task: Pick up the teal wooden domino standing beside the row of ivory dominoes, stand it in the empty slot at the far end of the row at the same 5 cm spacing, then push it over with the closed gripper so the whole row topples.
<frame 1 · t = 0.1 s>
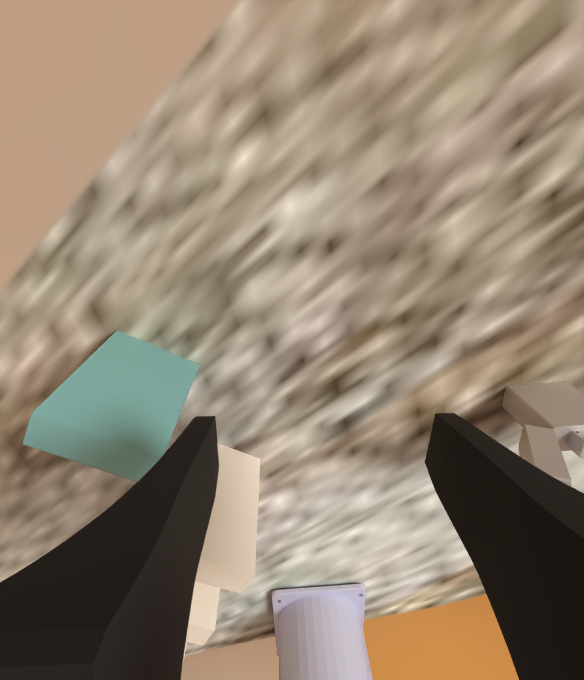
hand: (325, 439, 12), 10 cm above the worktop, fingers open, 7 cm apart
lighter: (510, 394, 24), on the worktop
domino 2: (222, 455, 25), on the worktop
domino 3: (194, 503, 26), on the worktop
end tile: (155, 358, 21), on the worktop
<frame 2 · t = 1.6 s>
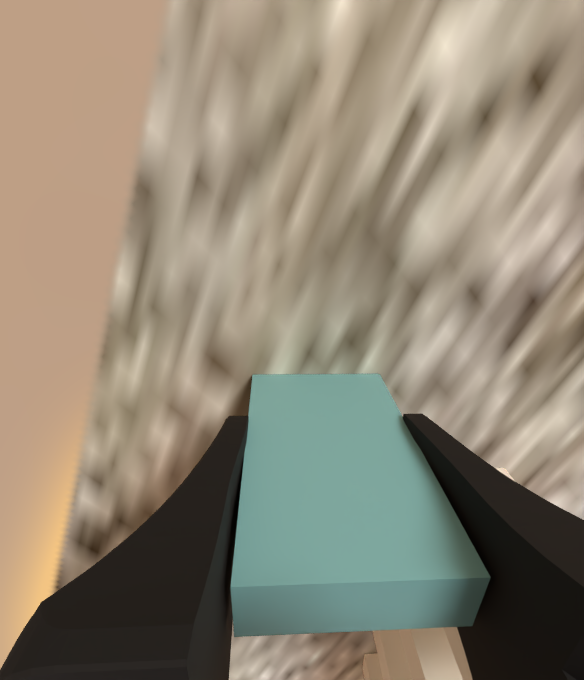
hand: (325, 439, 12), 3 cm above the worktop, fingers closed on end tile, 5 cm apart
domino 5: (402, 658, 23), on the worktop
domino 4: (414, 610, 21), on the worktop
domino 2: (448, 482, 17), on the worktop
domino 3: (429, 553, 19), on the worktop
end tile: (315, 391, 14), on the worktop, touching gripper
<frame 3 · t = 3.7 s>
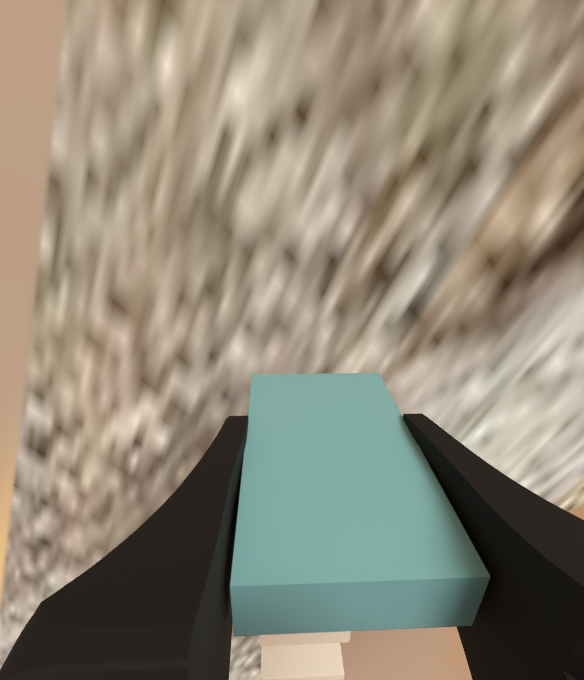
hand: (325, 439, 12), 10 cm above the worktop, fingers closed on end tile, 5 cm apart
domino 5: (295, 557, 29), on the worktop
domino 4: (296, 512, 27), on the worktop
end tile: (315, 391, 14), point 7 cm above the worktop, touching gripper
when the fingers open (3 cm above the worktop, at t = 5.8 s): end tile stays where it is, on the worktop.
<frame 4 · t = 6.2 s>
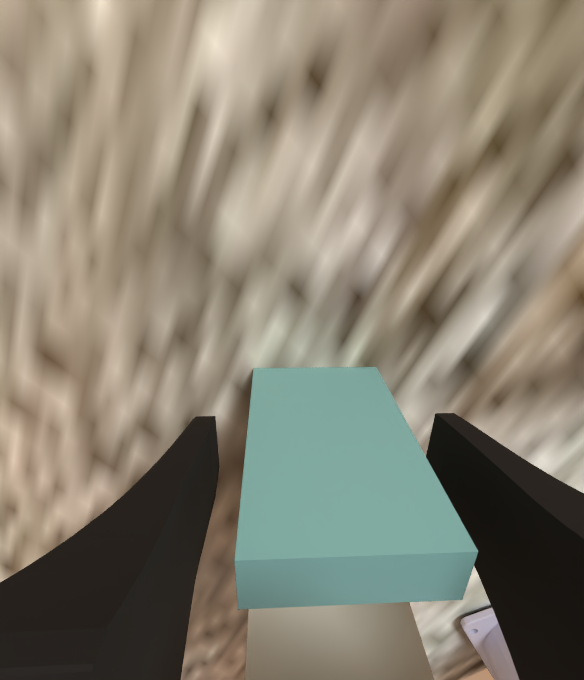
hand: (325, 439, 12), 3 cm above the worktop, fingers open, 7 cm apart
domino 2: (310, 477, 17), on the worktop
end tile: (314, 384, 15), on the worktop
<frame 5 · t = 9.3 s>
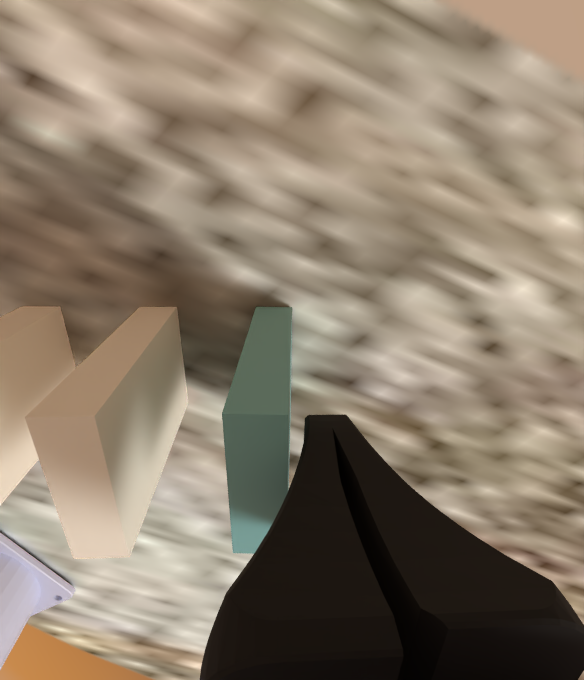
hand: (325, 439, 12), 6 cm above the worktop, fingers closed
domino 2: (165, 357, 17), on the worktop
domino 3: (55, 358, 17), on the worktop
end tile: (274, 357, 17), on the worktop, touching gripper
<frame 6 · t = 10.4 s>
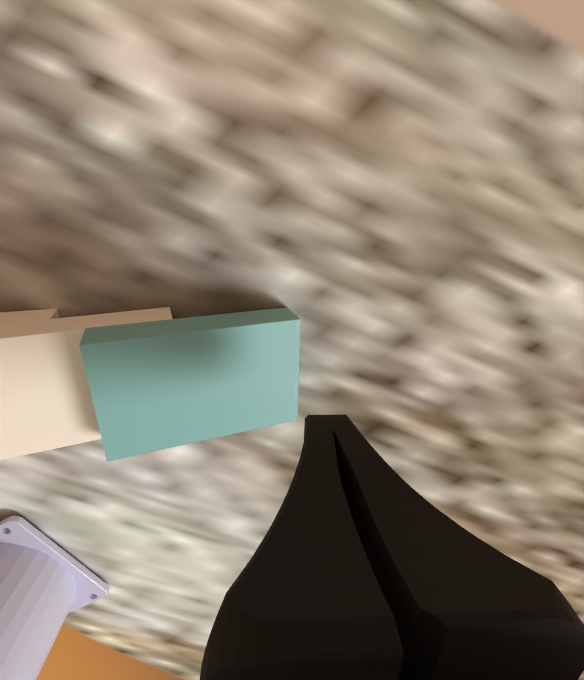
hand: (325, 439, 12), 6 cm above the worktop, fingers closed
domino 2: (178, 365, 16), point 1 cm above the worktop, tilted 72°, touching domino 3, end tile
domino 3: (66, 367, 16), point 1 cm above the worktop, tilted 73°, touching domino 2, domino 4
end tile: (292, 364, 16), point 1 cm above the worktop, tilted 72°, touching domino 2
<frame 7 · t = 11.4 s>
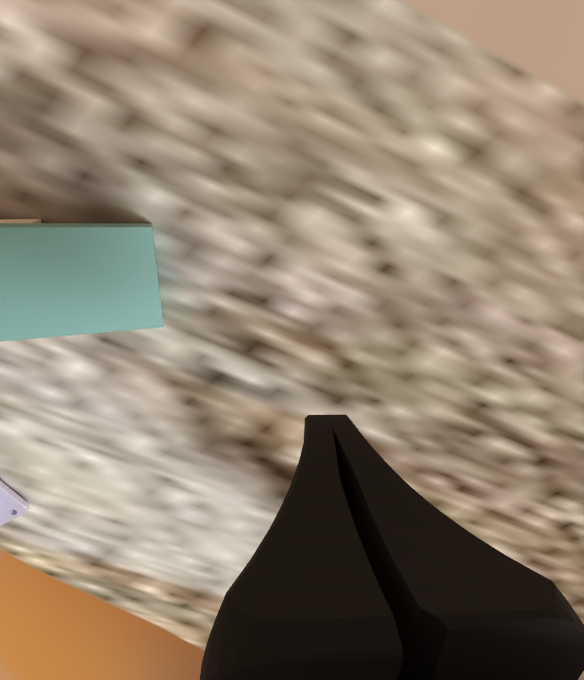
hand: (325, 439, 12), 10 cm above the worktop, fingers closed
end tile: (157, 276, 18), point 1 cm above the worktop, tilted 73°, touching domino 2
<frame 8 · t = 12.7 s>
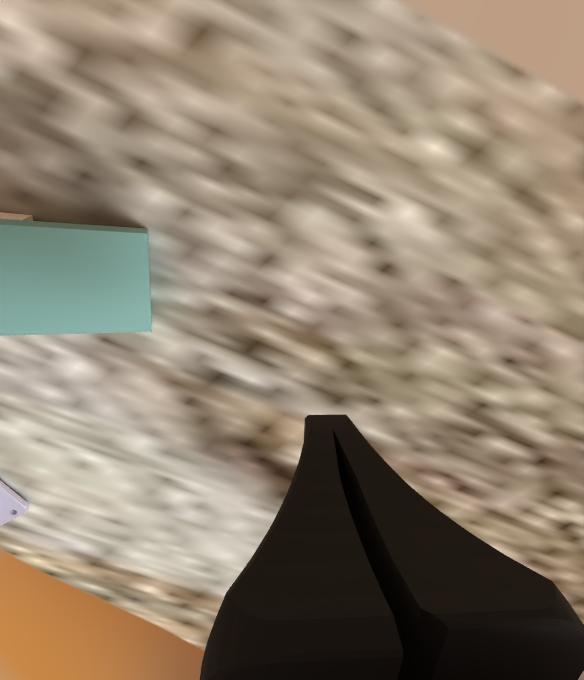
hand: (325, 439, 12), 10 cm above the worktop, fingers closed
end tile: (149, 280, 19), point 1 cm above the worktop, tilted 74°, touching domino 2
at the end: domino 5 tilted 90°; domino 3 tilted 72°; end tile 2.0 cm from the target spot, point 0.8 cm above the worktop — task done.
